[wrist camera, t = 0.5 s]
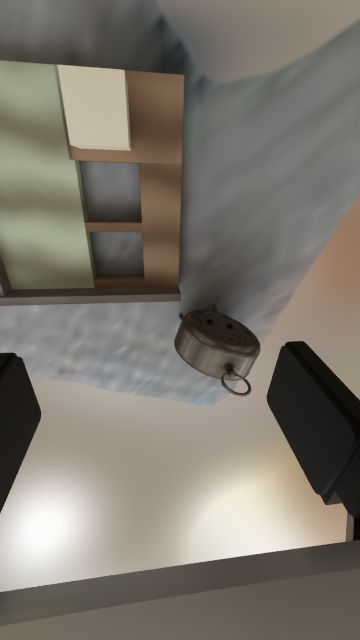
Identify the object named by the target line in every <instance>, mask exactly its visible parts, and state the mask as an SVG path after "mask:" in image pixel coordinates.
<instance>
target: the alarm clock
mask: <svg viewBox="0 0 360 640" xmlns="http://www.w3.org/2000/svg"><path fill="white" fill-rule="evenodd" d="M179 318H180V319H181V320H182V321H181V324H180V327H179V329H178V332H177V335H176V338H175V340H174V345H175V349H176V351H177V352H178V354H179V355H180V357H181V358H182V359H183V360H184V361H185V362H186V363H187V364H189V365H190V366H191V367H193V368H194V369H196V370H197V371H199V372H201V373H203V374H205V375H207V376H210V377H213V378H216V379H220V380H221V383H222V385H223V386H224V388H225V389H226V390H227V391H229V392H230V393H232V394H234V395H237V396H247V395H248V394H250V392H251V386H250V384H249V382H248V381H247V380H246V379H245V377H246V376H247V375H248V374H249V372H250V370H251V367H252V366H253V364H254V362H255V360H256V359H257V357H258V355H259V353H260V343H259V341H258V339H257V337H256V336H255V335H254V334H253V333H252V332H251V331H250V330H249V329H248V328H247V327H246V326H244V325H243V324H241V323H240V322H238V321H236V320H234V319H232V318H230V317H228V316H225V315H222V314H219V313H218V312H217V309H216V305H212V311H206V310H195V311H191V312H189V313H187V314H186V315H185V316H184V317H183V315H179ZM241 379H242V380H243V381H245V382H246V384H247V385H248V391H247V392H245V393H237V392H235V391H233V390H231V389H230V388H228V386H227V385H226V384H225V383H224V380H226V381H236V380H241Z"/></svg>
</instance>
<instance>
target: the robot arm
mask: <svg viewBox="0 0 360 640" xmlns="http://www.w3.org/2000/svg"><path fill="white" fill-rule="evenodd" d="M267 402H268V405H269V407H270V409H271V411H272V413H273V414H274V416H275V418H276V420H277V422H278V424H279V426H280V428H281V429H282V431H283V433H284V435H285V437H286V439H287V441H288V443H289V445H290V447H291V449H292V450H293V452H294V454H295V456H296V458H297V460H298V462H299V464H300V466H301V468H302V469H303V471H304V473H305V475H306V477H307V479H308V481H309V483H310V485H311V486H312V488H313V490H314V491H315V492H316V493H317V494H318V495H320V496H321V497H322V499H323V501H324V503H325V505H331V504H339V503H343V505H344V507H345V508H346V510H347V527H346V542H341V543H334V544H326V545H320V546H312V547H305V548H298V549H291V550H284V551H276V552H270V553H262V554H255V555H248V556H241V557H234V558H227V559H220V560H214V561H207V562H200V563H193V564H186V565H179V566H172V567H165V568H159V569H152V570H145V571H138V572H131V573H125V574H118V575H111V576H104V577H98V578H91V579H84V580H78V581H71V582H65V583H58V584H52V585H45V586H38V587H32V588H25V589H18V590H12V591H5V592H0V640H360V400H359V399H358V398H357V397H356V396H355V395H354V394H353V393H352V392H351V391H350V390H349V389H348V387H347V386H346V385H345V384H344V383H343V382H342V381H341V380H340V379H339V378H338V377H337V376H336V375H335V374H334V373H333V372H332V370H330V368H329V367H328V366H327V365H326V364H325V363H324V362H323V361H322V360H321V359H320V358H319V357H318V356H317V355H316V353H314V351H313V350H312V349H311V348H310V347H309V346H308V345H307V344H306V343H305V342H303V341H293V342H287V343H286V344H285V346H282V347H281V350H280V353H279V357H278V360H277V363H276V366H275V370H274V373H273V376H272V380H271V383H270V386H269V390H268V393H267ZM40 419H41V410H40V407H39V404H38V401H37V398H36V396H35V393H34V390H33V387H32V385H31V382H30V379H29V376H28V373H27V370H26V368H25V365H24V362H23V360H22V358H21V357H17V355H16V354H15V353H0V513H1V510H2V508H3V506H4V503H5V501H6V499H7V496H8V494H9V492H10V489H11V487H12V485H13V482H14V480H15V478H16V475H17V473H18V471H19V468H20V466H21V464H22V461H23V459H24V457H25V454H26V452H27V450H28V447H29V445H30V442H31V440H32V438H33V436H34V433H35V431H36V429H37V426H38V424H39V422H40Z"/></svg>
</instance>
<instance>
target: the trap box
mask: <svg viewBox="0 0 360 640" xmlns="http://www.w3.org/2000/svg"><path fill="white" fill-rule="evenodd" d="M124 71H125V76H126V81H127V85H128V103H129V120H130V137H131V151H126V150H103V149H80V148H78V147H75V146H72V145H70V141H69V135H68V129H67V122H66V116H65V110H64V104H63V97H62V91H61V85H60V78H59V72H58V66H57V65H53V64H40V63H27V62H15V61H2V60H0V306H12V305H50V304H89V303H128V302H166V301H181V293H180V290H179V251H180V215H181V179H182V143H183V107H184V75H178V74H166V73H153V72H141V71H128V70H124ZM79 161H94V162H121V163H139V168H140V190H141V212H142V220H88V218H87V211H86V204H85V198H84V191H83V184H82V177H81V171H80V164H79ZM90 232H142V234H143V256H144V275H96V272H95V265H94V258H93V251H92V245H91V238H90Z"/></svg>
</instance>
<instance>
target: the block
mask: <svg viewBox="0 0 360 640" xmlns="http://www.w3.org/2000/svg"><path fill="white" fill-rule="evenodd" d="M57 66H58V72H59V78H60V85H61V91H62V97H63V104H64V110H65V116H66V122H67V129H68V135H69V141H70V145H72V146H75V147H78V148H80V149H103V150H126V151H131V137H130V120H129V103H128V85H127V81H126V76H125V71H124V70H119V69H107V68H94V67H82V66H69V65H57Z"/></svg>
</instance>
